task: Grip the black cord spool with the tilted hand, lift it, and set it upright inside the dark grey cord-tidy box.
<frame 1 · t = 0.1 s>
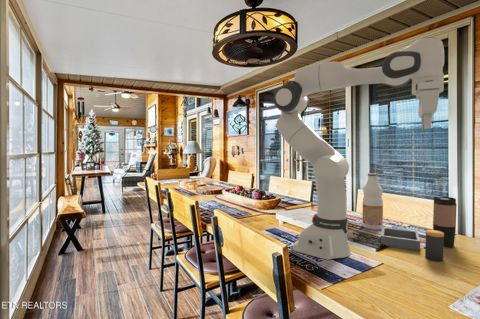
hand: (426, 129, 93), 48 cm above the table, tool pointing down, fingers open, 8 cm apart
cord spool: (434, 258, 102), on the table
fruit juice: (372, 227, 142), on the table
travel mug: (443, 245, 116), on the table
cord tidy box: (399, 242, 119), on the table
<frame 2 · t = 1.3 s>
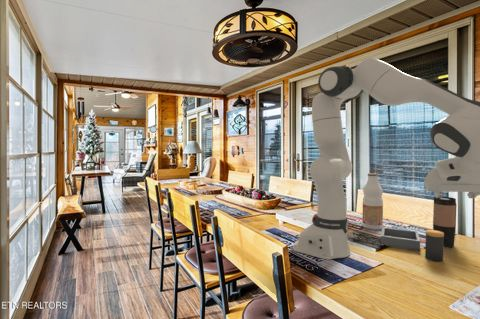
hand: (453, 196, 89), 26 cm above the table, tool tilted 45°, fingers open, 8 cm apart
nothing on the table moved.
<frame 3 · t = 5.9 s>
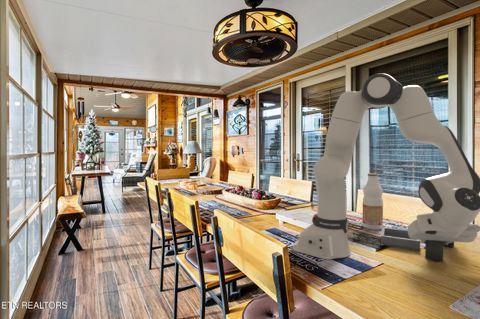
hand: (433, 242, 103), 6 cm above the table, tool tilted 45°, fingers closed on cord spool, 5 cm apart
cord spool: (434, 258, 102), on the table, touching gripper
everything else where it was.
when the fingers open (8 cm above the table, at t = 12.3 s): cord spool drops 1 cm, resting on cord tidy box.
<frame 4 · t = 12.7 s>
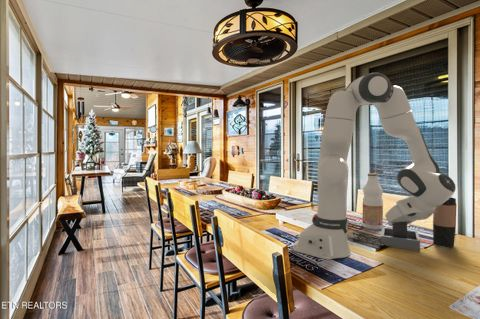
hand: (398, 223, 119), 8 cm above the table, tool tilted 45°, fingers open, 8 cm apart
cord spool: (399, 240, 119), point 1 cm above the table, touching cord tidy box
everything else where it was.
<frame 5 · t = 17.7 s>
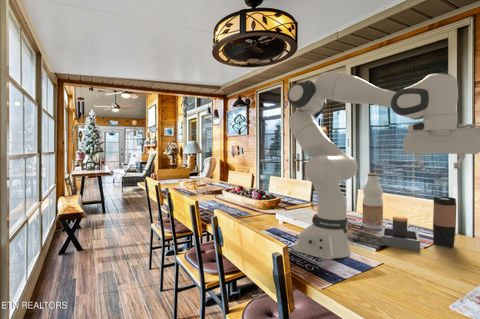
hand: (438, 168, 88), 35 cm above the table, tool pointing down, fingers open, 8 cm apart
nothing on the table moved.
at the end: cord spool inside the target area on the cord tidy box (0.0 cm from its centre), point 1.0 cm above the cord tidy box's base; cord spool tilted 0°; the gripper is holding nothing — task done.
